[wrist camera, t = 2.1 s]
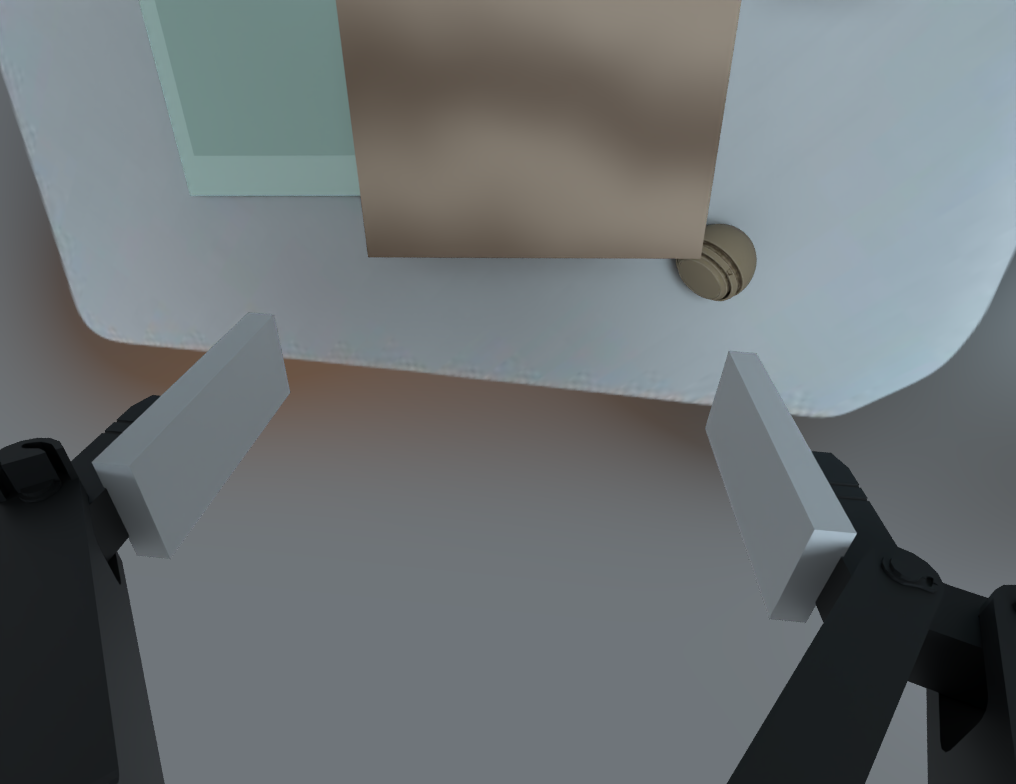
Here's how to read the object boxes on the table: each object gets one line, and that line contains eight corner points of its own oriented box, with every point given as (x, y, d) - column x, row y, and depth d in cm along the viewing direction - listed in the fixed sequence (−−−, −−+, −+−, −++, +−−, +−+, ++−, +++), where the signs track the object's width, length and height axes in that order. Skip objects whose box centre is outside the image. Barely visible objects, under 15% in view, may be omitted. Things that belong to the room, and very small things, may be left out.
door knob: (679, 211, 38) (698, 228, 34) (752, 222, 38) (780, 239, 34) (660, 282, 40) (676, 306, 36) (728, 292, 41) (752, 317, 36)
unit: (414, -26, 32) (321, -110, 18) (660, -30, 32) (760, -120, 18) (430, 201, 38) (369, 269, 24) (638, 201, 38) (698, 271, 24)
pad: (131, -65, 32) (119, -70, 31) (375, -70, 31) (370, -75, 31) (198, 193, 39) (189, 196, 38) (400, 193, 38) (396, 196, 37)
